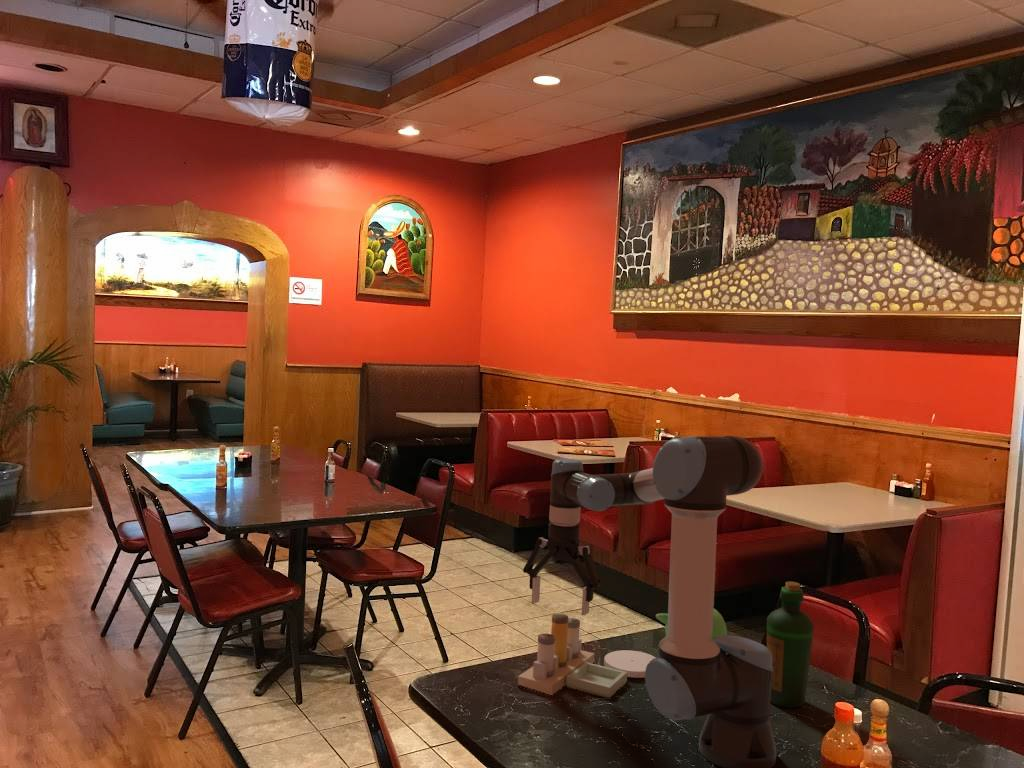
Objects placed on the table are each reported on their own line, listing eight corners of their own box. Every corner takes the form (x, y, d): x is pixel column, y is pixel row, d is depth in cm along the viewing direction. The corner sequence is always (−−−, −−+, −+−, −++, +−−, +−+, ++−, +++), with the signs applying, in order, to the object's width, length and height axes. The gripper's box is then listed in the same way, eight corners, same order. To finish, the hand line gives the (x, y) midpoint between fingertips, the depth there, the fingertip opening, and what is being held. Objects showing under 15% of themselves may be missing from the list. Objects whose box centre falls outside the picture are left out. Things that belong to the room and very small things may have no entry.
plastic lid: (593, 663, 216) (594, 653, 216) (640, 657, 222) (641, 647, 222) (621, 684, 203) (622, 674, 203) (670, 677, 209) (671, 667, 209)
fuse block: (551, 695, 195) (554, 647, 194) (517, 686, 199) (519, 638, 198) (594, 663, 215) (596, 618, 215) (562, 655, 220) (564, 611, 219)
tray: (608, 698, 195) (609, 687, 194) (566, 686, 200) (566, 676, 200) (626, 682, 204) (627, 672, 204) (585, 671, 210) (585, 661, 209)
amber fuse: (561, 668, 204) (563, 620, 204) (546, 665, 206) (549, 617, 206) (568, 663, 208) (571, 615, 207) (554, 660, 210) (556, 612, 209)
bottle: (767, 688, 204) (774, 574, 203) (813, 699, 199) (821, 582, 197) (756, 703, 195) (763, 584, 194) (803, 715, 190) (811, 593, 188)
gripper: (618, 527, 202) (613, 614, 204) (526, 512, 215) (522, 594, 216) (605, 533, 196) (600, 623, 197) (512, 517, 208) (508, 601, 209)
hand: (559, 608), depth 207 cm, fingers open, 13 cm apart
